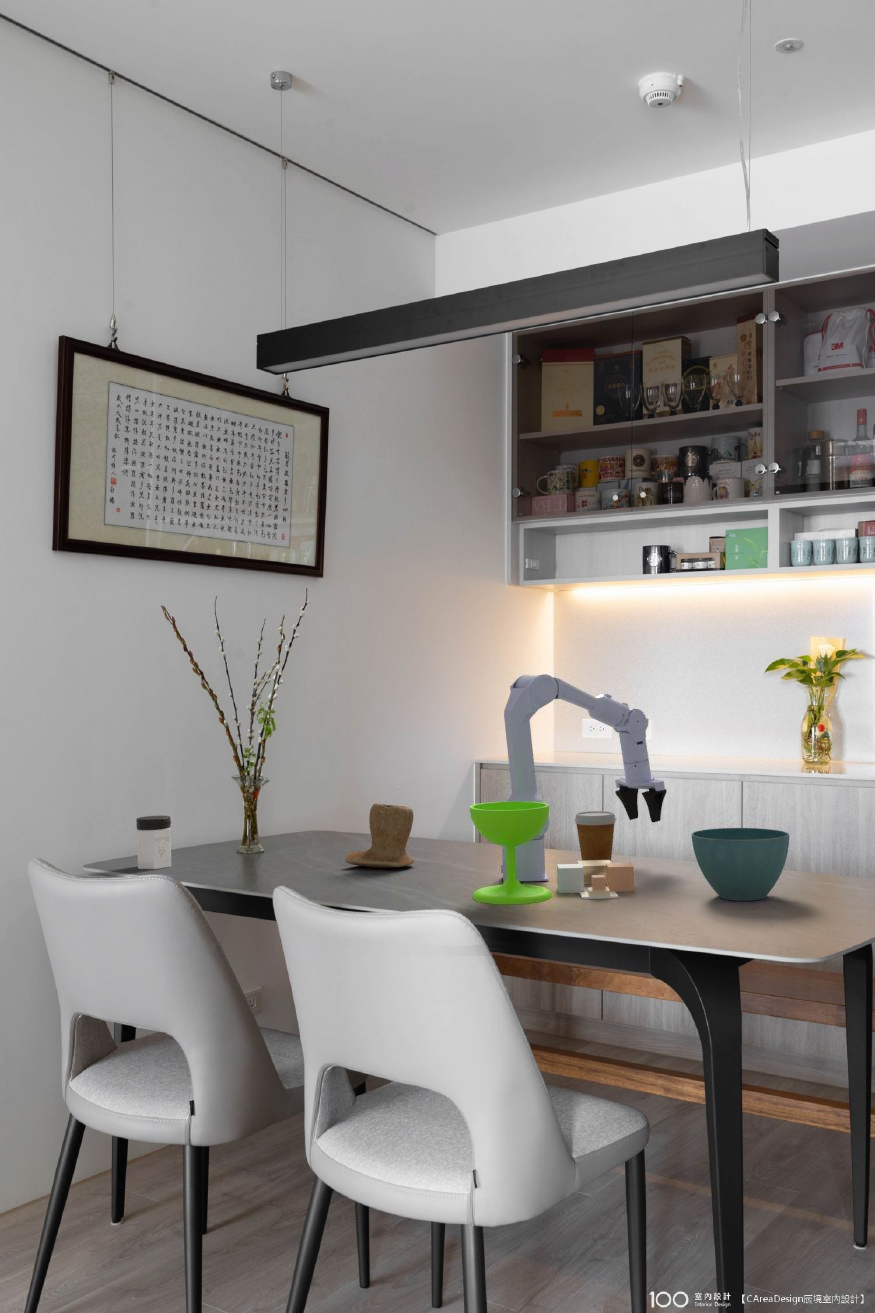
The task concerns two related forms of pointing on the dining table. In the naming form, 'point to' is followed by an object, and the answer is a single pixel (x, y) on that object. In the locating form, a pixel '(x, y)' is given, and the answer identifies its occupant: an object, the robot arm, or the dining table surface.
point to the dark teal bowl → (741, 860)
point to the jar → (153, 842)
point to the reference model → (598, 889)
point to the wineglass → (510, 846)
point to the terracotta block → (620, 877)
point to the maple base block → (593, 869)
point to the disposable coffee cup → (595, 834)
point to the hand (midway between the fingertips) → (644, 820)
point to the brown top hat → (386, 838)
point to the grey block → (570, 878)
